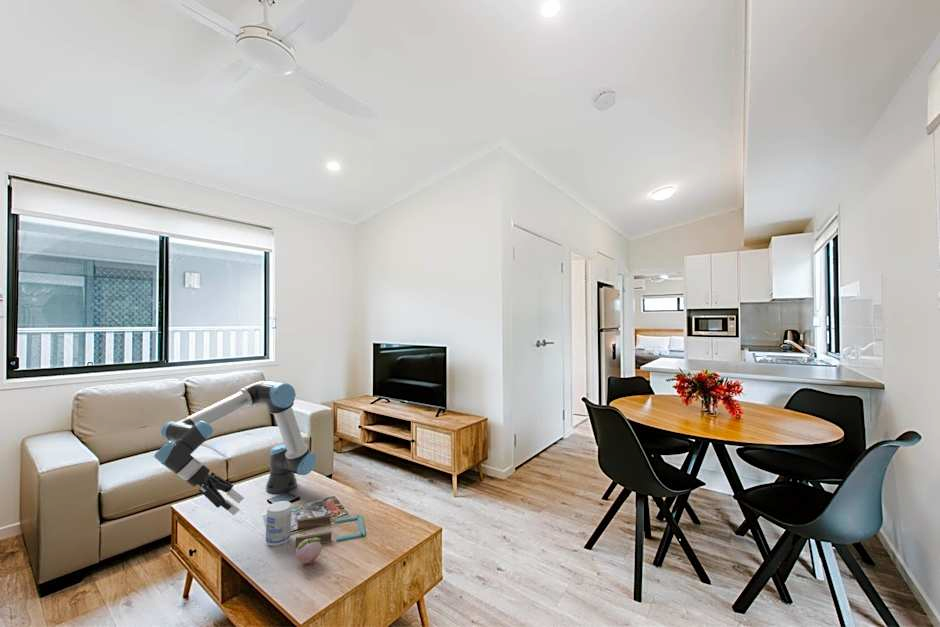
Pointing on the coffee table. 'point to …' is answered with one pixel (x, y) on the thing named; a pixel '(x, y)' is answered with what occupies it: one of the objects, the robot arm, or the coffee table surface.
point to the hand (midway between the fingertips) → (239, 506)
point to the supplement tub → (278, 523)
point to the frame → (350, 536)
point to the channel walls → (311, 523)
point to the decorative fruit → (308, 550)
